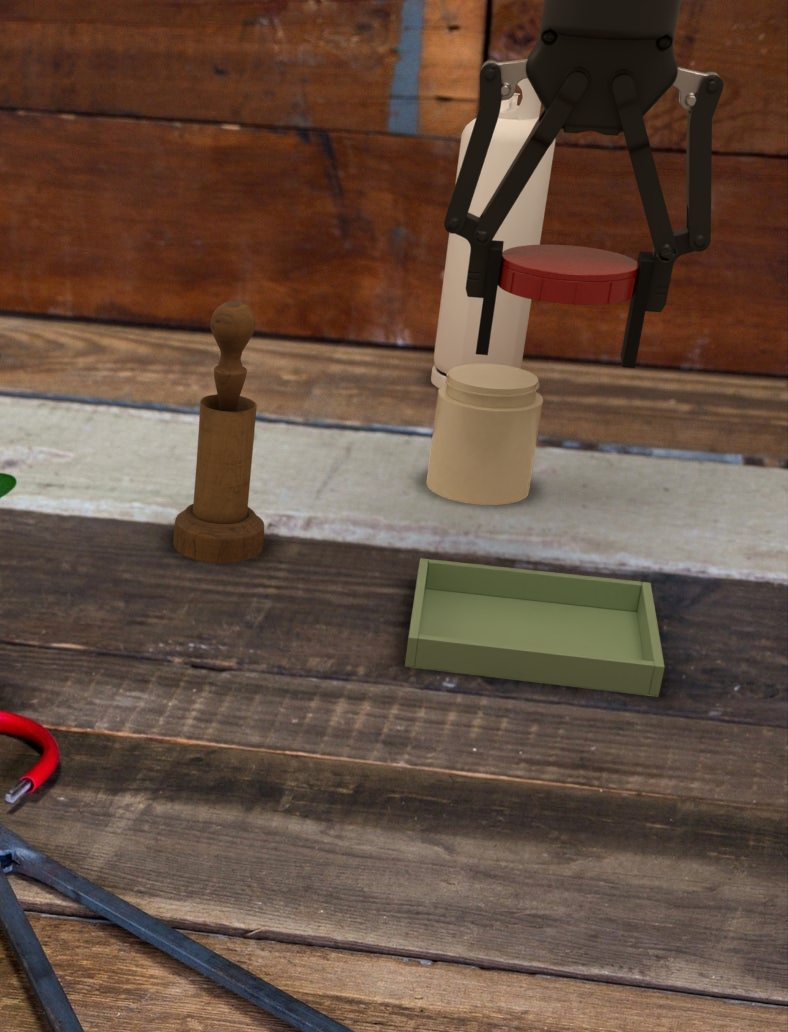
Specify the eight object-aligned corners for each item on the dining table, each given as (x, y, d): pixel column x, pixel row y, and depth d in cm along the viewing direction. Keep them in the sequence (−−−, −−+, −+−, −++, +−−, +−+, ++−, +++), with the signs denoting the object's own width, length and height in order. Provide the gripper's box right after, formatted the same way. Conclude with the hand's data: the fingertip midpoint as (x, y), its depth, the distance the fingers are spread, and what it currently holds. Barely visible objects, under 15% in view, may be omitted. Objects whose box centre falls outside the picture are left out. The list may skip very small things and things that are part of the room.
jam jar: (527, 480, 137) (545, 366, 132) (528, 515, 130) (547, 395, 125) (428, 471, 138) (442, 357, 134) (423, 504, 131) (438, 385, 127)
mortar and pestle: (258, 572, 119) (279, 319, 110) (167, 564, 120) (180, 312, 111) (265, 537, 124) (285, 294, 116) (178, 530, 125) (191, 288, 117)
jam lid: (508, 267, 108) (512, 239, 108) (640, 281, 106) (645, 252, 105) (487, 295, 102) (491, 265, 101) (626, 311, 99) (632, 280, 98)
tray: (644, 616, 113) (650, 582, 112) (657, 703, 102) (665, 666, 101) (415, 591, 116) (420, 557, 115) (403, 673, 105) (408, 637, 104)
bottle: (416, 390, 158) (454, 73, 145) (450, 370, 164) (491, 65, 151) (497, 406, 154) (545, 82, 141) (530, 386, 160) (578, 73, 147)
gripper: (426, -45, 94) (380, 356, 105) (825, -28, 90) (735, 388, 100) (433, -52, 100) (390, 326, 111) (806, -37, 96) (724, 354, 107)
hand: (554, 355), depth 106 cm, fingers closed on jam lid, 8 cm apart
